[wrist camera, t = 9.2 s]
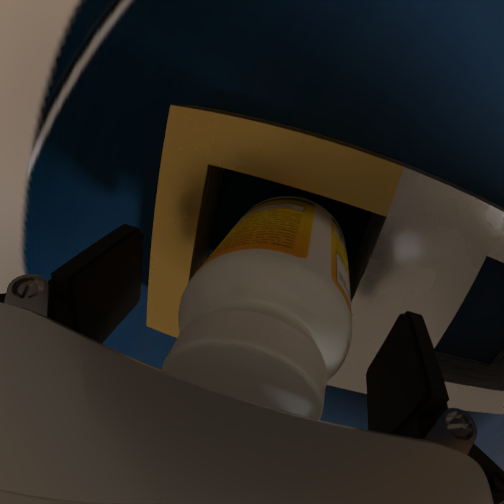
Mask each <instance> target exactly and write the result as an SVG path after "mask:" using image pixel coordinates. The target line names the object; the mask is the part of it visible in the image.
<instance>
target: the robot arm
mask: <svg viewBox="0 0 504 504" xmlns="http://www.w3.org/2000/svg"><path fill="white" fill-rule="evenodd" d="M142 252H143V234H142V233H140V229H139V228H136V227H133V226H130V225H127V224H123V225H122V226H120V227H119V228H117V229H115V230H114V231H112V232H111V233H109V234H108V235H106V236H105V237H103V238H102V239H100V240H99V241H97V242H96V243H94V244H93V245H91V246H90V247H88V248H87V249H85V250H84V251H82V252H81V253H79V254H78V255H77V256H75V257H74V258H72V259H71V260H69V261H68V262H67V263H65V264H64V265H62V266H61V267H59V268H58V269H57V270H55V271H54V272H53V273H51V276H52V279H51V280H49V281H48V282H47V280H46V279H45V278H44V277H42V276H40V275H36V274H27V275H22V276H19V277H17V278H15V279H14V280H12V282H11V283H10V284H9V286H8V288H7V292H6V293H5V294H0V504H504V471H503V470H502V469H501V468H500V467H498V466H497V465H496V464H495V463H494V462H493V461H492V460H491V459H490V458H489V457H488V456H487V455H486V454H485V453H484V452H482V451H481V450H480V449H479V448H478V447H477V446H476V445H475V444H474V441H475V439H476V436H477V428H476V425H475V422H474V421H473V419H472V418H471V417H470V416H469V415H468V414H467V413H466V412H465V411H463V410H461V409H458V408H449V409H448V405H447V402H448V401H449V396H448V393H447V389H446V385H445V382H444V379H443V375H442V372H441V369H440V366H439V362H438V359H437V356H436V353H435V350H434V347H433V344H432V341H431V338H430V335H429V332H428V330H427V327H426V324H425V321H424V319H423V316H422V315H420V314H417V313H414V312H410V311H406V312H405V313H404V314H402V313H401V314H400V315H399V316H398V318H397V320H396V321H395V323H394V325H393V327H392V329H391V330H390V332H389V334H388V336H387V337H386V339H385V341H384V342H383V344H382V346H381V348H380V349H379V351H378V353H377V354H376V356H375V357H374V359H373V361H372V362H371V364H370V365H369V367H368V369H367V373H366V385H367V404H368V430H364V429H359V428H354V427H349V426H344V425H339V424H335V423H330V422H326V421H321V420H317V419H313V418H308V417H304V416H300V415H297V414H293V413H289V412H285V411H282V410H278V409H274V408H271V407H267V406H264V405H260V404H257V403H254V402H250V401H247V400H244V399H241V398H237V397H234V396H231V395H228V394H225V393H222V392H219V391H216V390H213V389H210V388H208V387H205V386H202V385H199V384H196V383H194V382H191V381H188V380H186V379H183V378H180V377H178V376H175V375H172V374H170V373H167V372H165V371H162V370H160V369H157V368H155V367H152V366H150V365H148V364H145V363H143V362H141V361H138V360H136V359H134V358H131V357H129V356H127V355H125V354H122V353H120V352H118V351H116V350H114V349H111V348H109V347H107V346H105V345H103V344H102V343H103V342H104V340H105V339H106V338H107V337H108V336H109V335H110V334H111V333H112V331H113V330H114V329H115V328H116V327H117V326H118V325H119V323H120V322H121V321H122V320H123V319H124V318H125V317H126V316H127V315H128V313H129V312H130V311H131V310H132V309H133V308H134V307H135V306H136V305H137V303H138V301H139V299H140V290H141V268H142Z"/></svg>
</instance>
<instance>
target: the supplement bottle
mask: <svg viewBox="0 0 504 504" xmlns="http://www.w3.org/2000/svg"><path fill="white" fill-rule="evenodd" d="M178 325H179V332H180V334H179V336H178V338H177V340H176V342H175V344H174V346H173V347H172V349H171V351H170V352H169V354H168V356H167V357H166V359H165V361H164V364H163V366H162V369H161V370H162V371H165V372H167V373H170V374H172V375H175V376H178V377H180V378H183V379H186V380H188V381H191V382H194V383H196V384H199V385H202V386H205V387H208V388H210V389H213V390H216V391H219V392H222V393H225V394H228V395H231V396H234V397H237V398H241V399H244V400H247V401H250V402H254V403H257V404H260V405H264V406H267V407H271V408H274V409H278V410H282V411H285V412H289V413H293V414H297V415H300V416H304V417H308V418H313V419H317V420H320V418H321V415H322V412H323V405H324V396H325V388H326V384H327V382H328V381H329V380H330V379H331V378H332V377H333V376H334V375H335V374H336V373H337V371H338V370H339V369H340V367H341V366H342V364H343V362H344V361H345V359H346V356H347V354H348V351H349V348H350V344H351V338H352V309H351V297H350V282H349V270H348V259H347V250H346V243H345V239H344V235H343V233H342V230H341V228H340V226H339V224H338V223H337V221H336V220H335V218H334V217H333V216H332V215H331V214H330V213H329V212H328V211H327V210H326V209H325V208H323V207H322V206H320V205H319V204H317V203H315V202H313V201H311V200H309V199H306V198H302V197H295V196H280V197H274V198H270V199H267V200H264V201H262V202H260V203H258V204H256V205H255V206H253V207H252V208H251V209H249V210H248V211H247V212H246V213H245V214H244V215H243V216H242V217H241V219H240V220H239V221H238V223H237V224H236V225H235V226H234V227H233V229H232V230H231V231H230V232H229V233H228V235H227V236H226V237H225V238H224V240H223V241H222V242H221V243H220V244H219V245H218V247H217V248H216V249H215V250H214V251H213V253H212V254H211V255H210V256H209V257H208V259H207V260H206V261H205V262H204V263H203V265H202V266H201V267H200V268H199V269H198V271H197V272H196V273H195V275H194V276H193V277H192V279H191V280H190V281H189V283H188V285H187V287H186V288H185V290H184V293H183V295H182V298H181V301H180V305H179V312H178Z"/></svg>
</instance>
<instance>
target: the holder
mask: <svg viewBox="0 0 504 504" xmlns="http://www.w3.org/2000/svg"><path fill="white" fill-rule="evenodd" d="M225 168H226V169H229V170H233V171H237V172H241V173H245V174H249V175H252V176H256V177H260V178H263V179H267V180H270V181H274V182H278V183H281V184H285V185H288V186H291V187H295V188H298V189H302V190H305V191H308V192H312V193H315V194H318V195H321V196H325V197H328V198H331V199H334V200H337V201H340V202H343V203H347V204H350V205H353V206H356V207H359V208H362V209H365V210H368V211H371V212H372V214H371V217H370V219H369V222H368V225H367V227H366V230H365V233H364V235H363V238H362V241H361V243H360V246H359V249H358V251H357V254H356V256H355V259H354V261H353V264H352V266H351V269H350V271H349V282H350V297H351V309H352V338H351V344H350V348H349V351H348V354H347V356H346V359H345V361H344V362H343V364H342V366H341V367H340V369H339V370H338V371H337V373H336V374H335V375H334V376H333V377H332V378H331V379H330V380H329V381H328V382H327V384H326V385H330V386H334V387H338V388H343V389H347V390H351V391H356V392H360V393H365V394H367V385H366V373H367V369H368V367H369V365H370V364H371V362H372V361H373V359H374V357H375V356H376V354H377V353H378V351H379V349H380V348H381V346H382V344H383V342H384V341H385V339H386V337H387V336H388V334H389V332H390V330H391V329H392V327H393V325H394V323H395V321H396V320H397V318H398V316H399V315H400V314H401V313H402V314H404V313H405V312H406V311H410V312H414V313H417V314H420V315H422V316H423V319H424V321H425V324H426V327H427V330H428V332H429V335H430V338H431V341H432V344H433V347H434V348H435V347H436V345H437V344H438V342H439V340H440V339H441V337H442V336H443V334H444V333H445V331H446V329H447V328H448V326H449V325H450V323H451V321H452V320H453V318H454V316H455V315H456V313H457V311H458V309H459V308H460V306H461V304H462V302H463V301H464V299H465V297H466V295H467V293H468V292H469V290H470V288H471V286H472V284H473V282H474V280H475V278H476V276H477V274H478V272H479V270H480V268H481V266H482V264H483V262H484V260H485V258H486V256H489V257H491V258H493V259H496V260H498V261H500V262H502V263H504V208H503V207H501V206H499V205H497V204H495V203H493V202H491V201H489V200H487V199H485V198H483V197H481V196H479V195H477V194H475V193H473V192H471V191H469V190H467V189H464V188H462V187H460V186H458V185H456V184H454V183H451V182H449V181H447V180H445V179H442V178H440V177H438V176H435V175H433V174H431V173H428V172H426V171H423V170H421V169H418V168H416V167H413V166H411V165H408V164H406V163H403V162H401V161H398V160H395V159H393V158H390V157H387V156H385V155H382V154H379V153H376V152H373V151H371V150H368V149H365V148H362V147H359V146H356V145H353V144H350V143H347V142H344V141H341V140H337V139H334V138H331V137H328V136H324V135H321V134H318V133H314V132H311V131H307V130H304V129H300V128H296V127H293V126H289V125H285V124H281V123H277V122H273V121H269V120H265V119H261V118H256V117H252V116H248V115H243V114H239V113H234V112H229V111H224V110H219V109H214V108H209V107H203V106H197V105H170V110H169V116H168V121H167V127H166V133H165V139H164V145H163V152H162V158H161V165H160V172H159V179H158V187H157V195H156V204H155V212H154V222H153V232H152V243H151V255H150V268H149V284H148V303H147V326H148V327H150V328H153V329H155V330H158V331H160V332H163V333H166V334H168V335H171V336H173V337H176V338H178V336H179V334H180V332H179V325H178V312H179V305H180V301H181V298H182V295H183V293H184V290H185V288H186V287H187V285H188V283H189V281H190V280H191V279H192V277H193V276H194V275H195V273H196V272H197V271H198V269H199V268H200V267H201V266H202V265H203V263H204V262H205V261H206V260H207V257H208V252H209V246H210V241H211V235H212V230H213V225H214V220H215V214H216V209H217V204H218V199H219V194H220V189H221V184H222V179H223V174H224V169H225ZM435 353H436V356H437V359H438V362H439V366H440V369H441V372H442V375H443V379H444V382H445V385H446V389H447V393H448V396H449V401H448V402H447V405H448V408H458V409H461V410H465V411H474V412H483V413H494V414H504V346H503V348H502V349H501V351H500V352H499V353H498V355H497V356H496V358H495V359H494V360H493V362H492V363H486V362H482V361H477V360H473V359H468V358H464V357H460V356H455V355H451V354H447V353H443V352H439V351H435Z"/></svg>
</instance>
